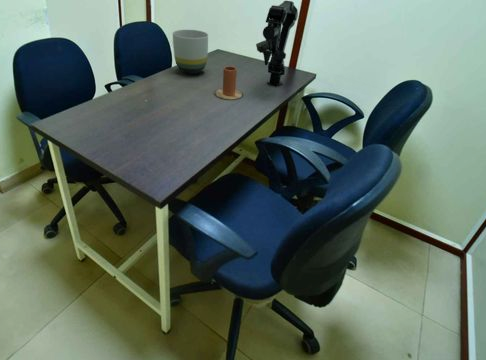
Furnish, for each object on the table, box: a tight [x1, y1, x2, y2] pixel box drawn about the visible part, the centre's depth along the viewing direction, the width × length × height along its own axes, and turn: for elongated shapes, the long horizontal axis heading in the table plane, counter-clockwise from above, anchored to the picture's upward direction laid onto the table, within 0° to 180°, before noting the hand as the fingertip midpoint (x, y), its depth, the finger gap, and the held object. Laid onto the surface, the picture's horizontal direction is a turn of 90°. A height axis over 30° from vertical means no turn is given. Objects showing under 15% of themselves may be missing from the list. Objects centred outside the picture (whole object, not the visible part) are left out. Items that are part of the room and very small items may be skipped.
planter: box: [172, 29, 209, 75], centre depth 172 cm, size 20×20×21 cm
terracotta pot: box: [222, 65, 238, 96], centre depth 153 cm, size 7×7×13 cm
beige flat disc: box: [215, 88, 243, 101], centre depth 157 cm, size 14×14×1 cm
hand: (269, 67), depth 155 cm, fingers open, 9 cm apart
